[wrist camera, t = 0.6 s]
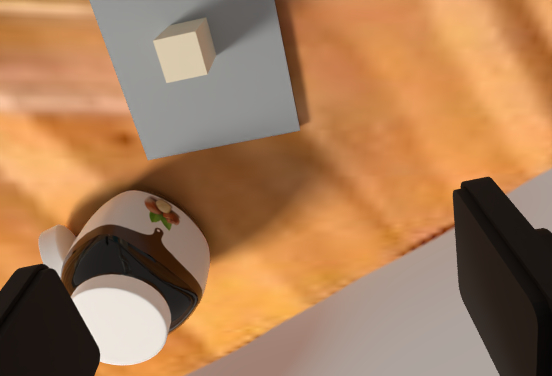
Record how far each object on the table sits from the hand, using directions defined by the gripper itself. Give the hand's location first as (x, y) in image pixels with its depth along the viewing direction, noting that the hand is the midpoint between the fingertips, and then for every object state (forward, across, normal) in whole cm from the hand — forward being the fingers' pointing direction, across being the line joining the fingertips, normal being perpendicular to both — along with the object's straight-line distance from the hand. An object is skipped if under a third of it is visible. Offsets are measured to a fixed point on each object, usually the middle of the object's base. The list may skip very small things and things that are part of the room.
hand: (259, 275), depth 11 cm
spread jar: (+26, +16, +14) cm, 33 cm away
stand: (+26, +5, -1) cm, 27 cm away
